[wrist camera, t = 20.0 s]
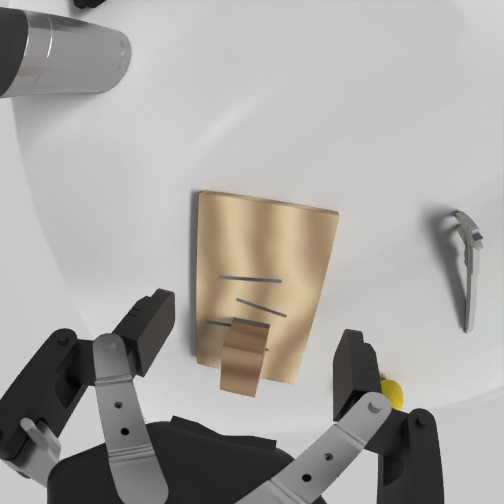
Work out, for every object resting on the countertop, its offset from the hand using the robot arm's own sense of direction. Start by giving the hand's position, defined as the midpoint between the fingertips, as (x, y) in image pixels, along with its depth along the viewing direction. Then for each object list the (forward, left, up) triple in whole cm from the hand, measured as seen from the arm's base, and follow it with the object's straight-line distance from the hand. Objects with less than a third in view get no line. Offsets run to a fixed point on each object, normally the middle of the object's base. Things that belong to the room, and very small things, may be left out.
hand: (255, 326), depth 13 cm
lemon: (+20, -27, -23) cm, 41 cm away
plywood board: (-3, -15, -23) cm, 27 cm away
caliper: (+26, -6, -23) cm, 35 cm away
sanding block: (-3, -22, -21) cm, 31 cm away
